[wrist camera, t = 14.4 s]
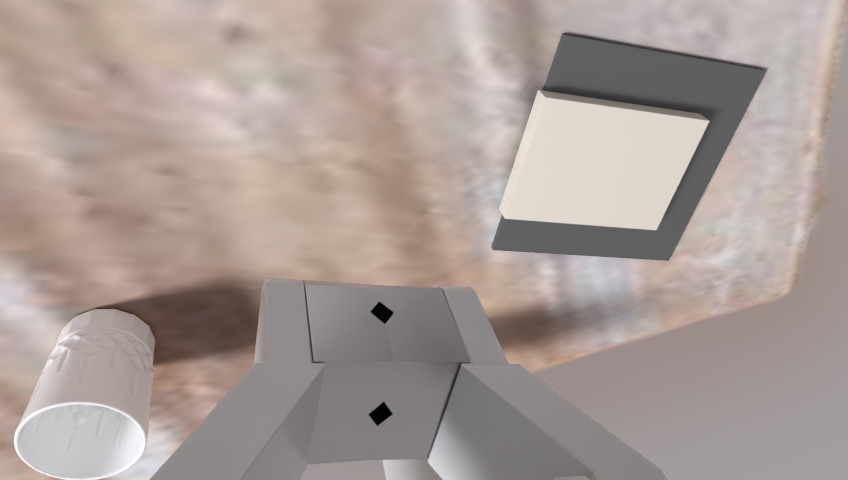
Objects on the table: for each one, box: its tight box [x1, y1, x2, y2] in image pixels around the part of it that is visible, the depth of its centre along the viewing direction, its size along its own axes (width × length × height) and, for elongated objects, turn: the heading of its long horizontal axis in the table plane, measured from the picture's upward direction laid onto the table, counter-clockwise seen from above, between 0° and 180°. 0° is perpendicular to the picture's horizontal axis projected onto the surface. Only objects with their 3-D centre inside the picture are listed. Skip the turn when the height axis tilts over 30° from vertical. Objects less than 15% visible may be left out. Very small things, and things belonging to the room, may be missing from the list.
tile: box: [499, 90, 709, 230], centre depth 50 cm, size 10×2×14 cm
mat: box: [492, 33, 766, 261], centre depth 51 cm, size 18×18×1 cm
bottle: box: [383, 459, 443, 480], centre depth 48 cm, size 5×5×25 cm
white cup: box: [14, 309, 155, 480], centre depth 46 cm, size 8×8×10 cm
